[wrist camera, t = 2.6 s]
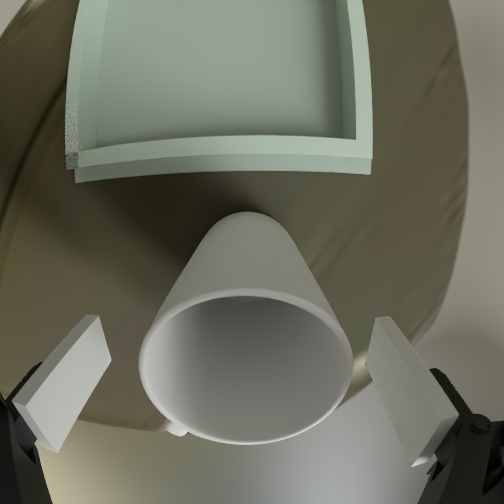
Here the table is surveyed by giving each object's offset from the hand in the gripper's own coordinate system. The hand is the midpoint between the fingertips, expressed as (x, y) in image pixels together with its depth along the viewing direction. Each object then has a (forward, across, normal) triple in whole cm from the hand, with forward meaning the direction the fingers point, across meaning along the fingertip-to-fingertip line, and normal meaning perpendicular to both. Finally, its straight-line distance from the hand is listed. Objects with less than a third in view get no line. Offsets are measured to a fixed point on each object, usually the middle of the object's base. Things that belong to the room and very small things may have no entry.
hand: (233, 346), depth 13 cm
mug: (+8, 0, 0) cm, 8 cm away
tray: (+8, -2, +16) cm, 18 cm away
